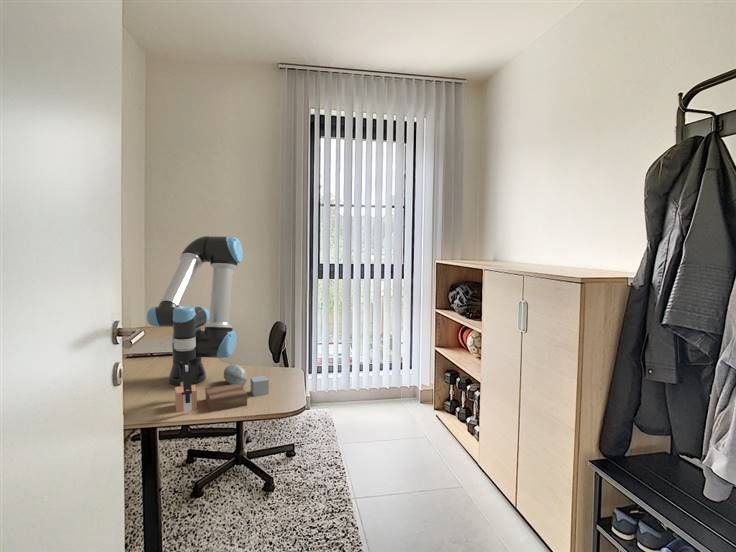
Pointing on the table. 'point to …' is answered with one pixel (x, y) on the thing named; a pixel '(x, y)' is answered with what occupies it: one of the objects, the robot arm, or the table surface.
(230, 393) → the walnut block
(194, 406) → the terracotta cube
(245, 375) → the yarn skein
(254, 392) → the grey cube
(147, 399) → the table surface
